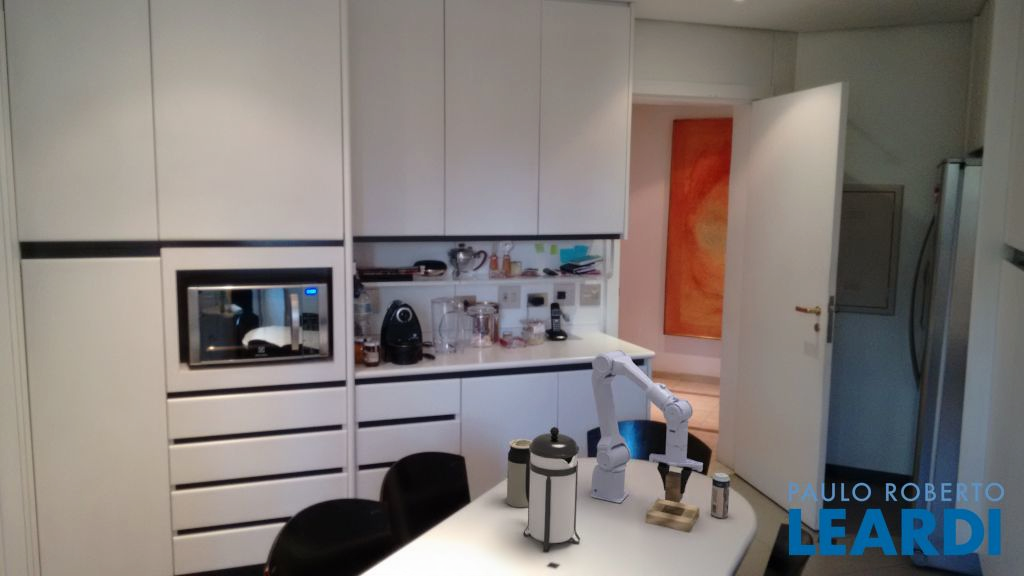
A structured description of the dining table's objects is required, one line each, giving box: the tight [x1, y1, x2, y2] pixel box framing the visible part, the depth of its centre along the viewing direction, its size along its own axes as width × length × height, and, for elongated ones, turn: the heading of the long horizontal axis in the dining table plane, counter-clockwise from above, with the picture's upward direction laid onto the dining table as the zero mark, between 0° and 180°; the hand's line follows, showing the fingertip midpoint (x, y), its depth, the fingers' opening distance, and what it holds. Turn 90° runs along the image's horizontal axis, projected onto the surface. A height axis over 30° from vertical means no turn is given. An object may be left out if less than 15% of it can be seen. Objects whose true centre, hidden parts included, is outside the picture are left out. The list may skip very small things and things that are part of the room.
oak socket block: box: [645, 498, 701, 533], centre depth 191 cm, size 12×12×2 cm
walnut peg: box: [664, 470, 684, 503], centre depth 189 cm, size 4×4×7 cm
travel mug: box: [506, 438, 533, 508], centre depth 198 cm, size 8×8×18 cm
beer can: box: [710, 471, 731, 519], centre depth 193 cm, size 5×5×12 cm
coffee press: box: [522, 426, 581, 553], centre depth 176 cm, size 17×16×30 cm
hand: (674, 491), depth 190 cm, fingers closed on walnut peg, 4 cm apart
